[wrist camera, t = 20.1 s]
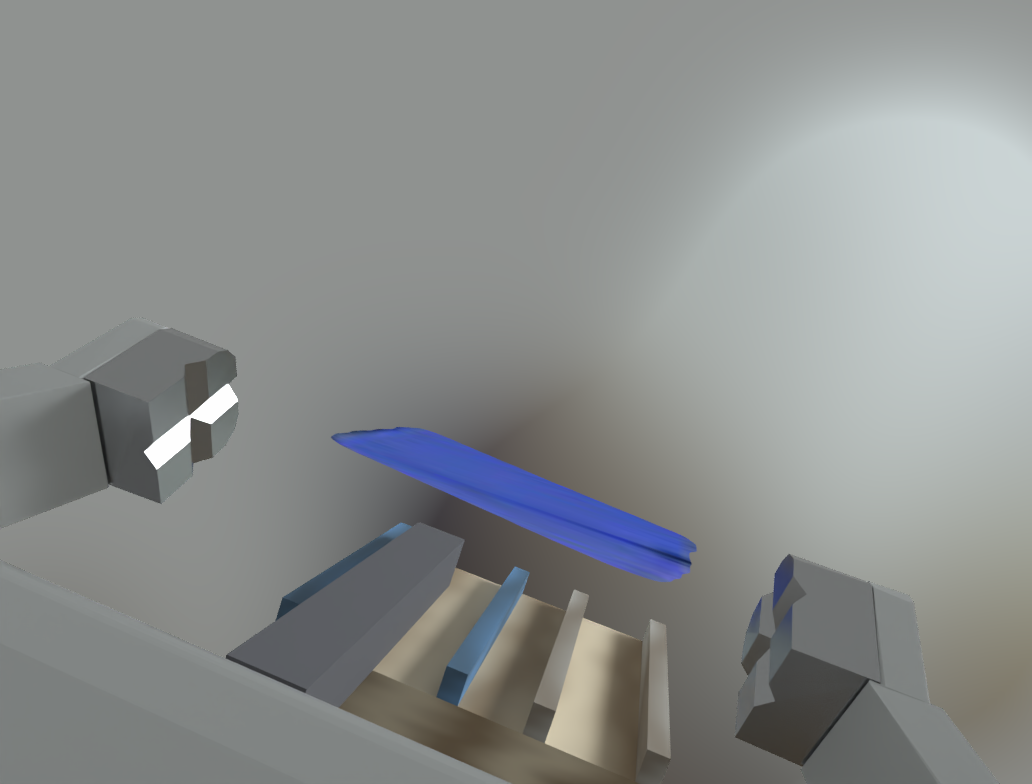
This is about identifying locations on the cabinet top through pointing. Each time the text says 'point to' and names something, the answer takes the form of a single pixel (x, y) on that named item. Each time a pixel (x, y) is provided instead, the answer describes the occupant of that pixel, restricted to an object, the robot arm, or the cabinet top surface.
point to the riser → (518, 684)
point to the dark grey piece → (355, 617)
